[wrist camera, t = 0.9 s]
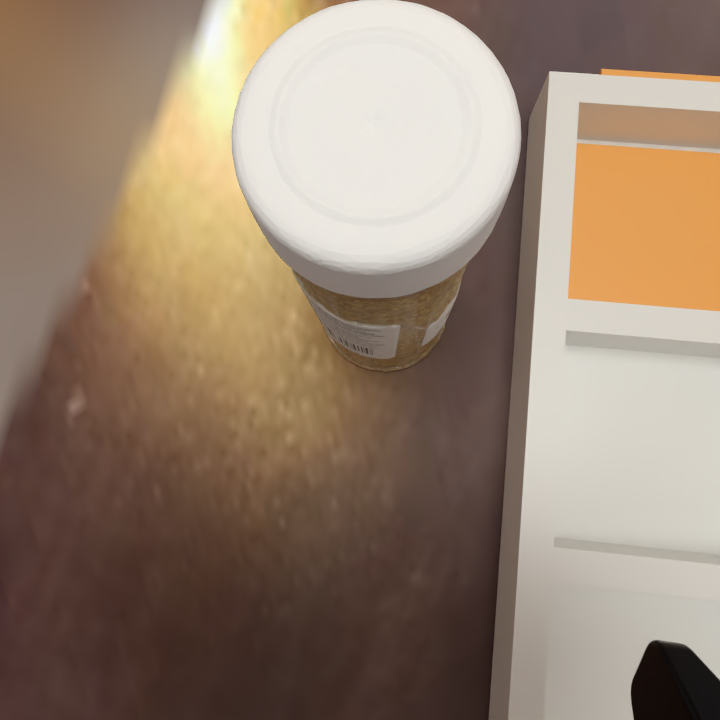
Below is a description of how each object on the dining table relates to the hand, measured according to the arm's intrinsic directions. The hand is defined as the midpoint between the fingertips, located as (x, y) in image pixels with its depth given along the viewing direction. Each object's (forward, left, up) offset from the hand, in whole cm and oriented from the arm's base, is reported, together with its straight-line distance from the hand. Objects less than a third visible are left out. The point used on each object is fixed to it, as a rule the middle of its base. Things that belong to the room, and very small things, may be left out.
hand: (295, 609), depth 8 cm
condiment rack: (+3, -9, -14) cm, 17 cm away
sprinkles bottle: (+7, 0, -14) cm, 16 cm away
